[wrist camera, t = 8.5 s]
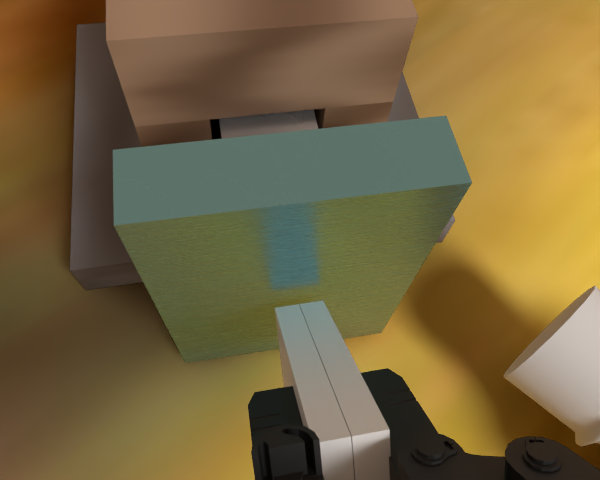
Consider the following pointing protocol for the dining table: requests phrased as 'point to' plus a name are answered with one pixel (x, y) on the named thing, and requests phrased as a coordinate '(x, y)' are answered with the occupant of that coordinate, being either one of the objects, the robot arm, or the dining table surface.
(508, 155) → the dining table surface
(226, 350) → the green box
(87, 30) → the bearing block
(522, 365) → the bottle
